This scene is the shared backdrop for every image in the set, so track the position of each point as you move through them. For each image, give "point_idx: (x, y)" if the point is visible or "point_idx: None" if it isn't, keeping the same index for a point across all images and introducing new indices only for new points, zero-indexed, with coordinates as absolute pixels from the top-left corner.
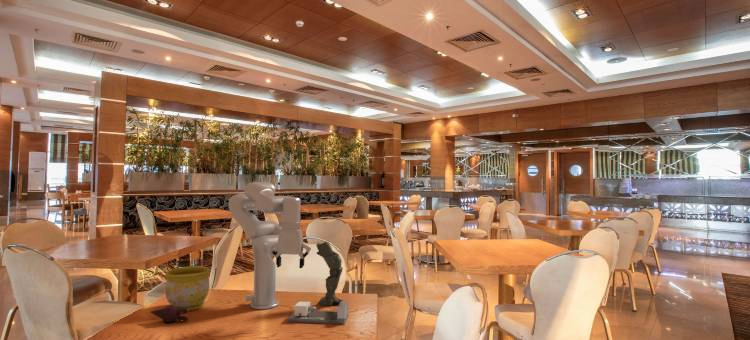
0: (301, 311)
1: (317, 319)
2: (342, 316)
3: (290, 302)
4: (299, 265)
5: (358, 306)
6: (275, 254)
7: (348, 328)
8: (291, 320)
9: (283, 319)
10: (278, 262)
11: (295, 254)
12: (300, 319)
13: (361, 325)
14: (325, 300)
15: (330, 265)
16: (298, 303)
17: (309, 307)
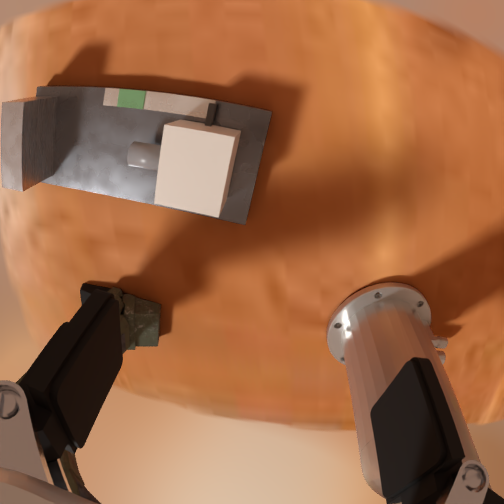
0: (200, 126)
1: (130, 89)
2: (35, 97)
3: (280, 344)
4: (101, 319)
5: (35, 267)
6: (481, 502)
7: (36, 50)
8: (255, 107)
9: (298, 146)
10: (431, 406)
11: (70, 493)
12: (209, 99)
13: (5, 85)
14: (130, 307)
15: None
16: (217, 180)
17: (158, 152)
